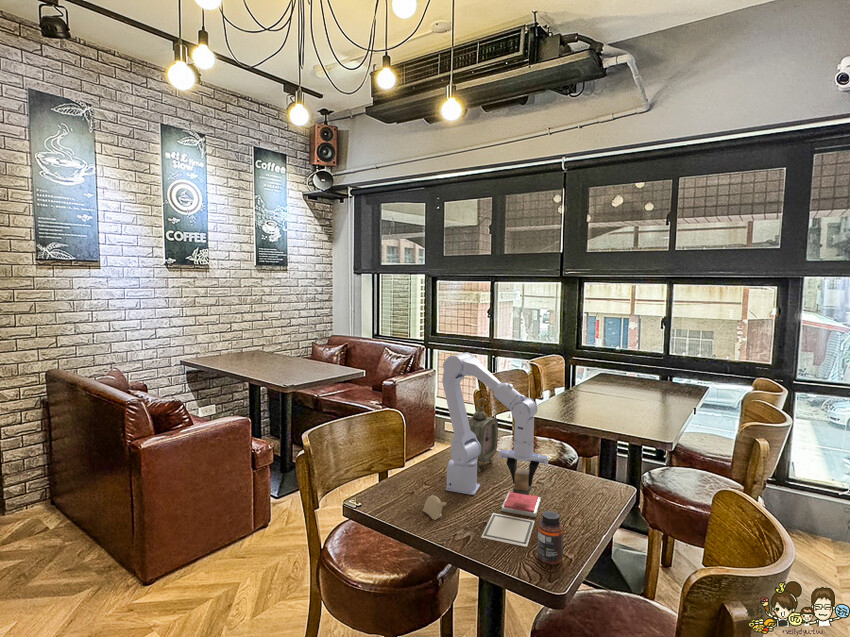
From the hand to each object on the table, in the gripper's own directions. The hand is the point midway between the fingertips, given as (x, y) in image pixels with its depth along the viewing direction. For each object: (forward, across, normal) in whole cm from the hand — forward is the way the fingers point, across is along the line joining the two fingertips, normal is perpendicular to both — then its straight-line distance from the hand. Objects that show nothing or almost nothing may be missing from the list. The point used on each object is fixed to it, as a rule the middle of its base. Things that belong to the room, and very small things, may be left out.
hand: (522, 483), depth 145 cm
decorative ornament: (+7, -23, -15) cm, 28 cm away
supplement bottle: (+7, +11, -25) cm, 28 cm away
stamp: (+2, 0, 0) cm, 2 cm away
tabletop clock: (+7, -20, +25) cm, 33 cm away
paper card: (+7, -1, -15) cm, 17 cm away
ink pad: (+7, 0, 0) cm, 7 cm away
